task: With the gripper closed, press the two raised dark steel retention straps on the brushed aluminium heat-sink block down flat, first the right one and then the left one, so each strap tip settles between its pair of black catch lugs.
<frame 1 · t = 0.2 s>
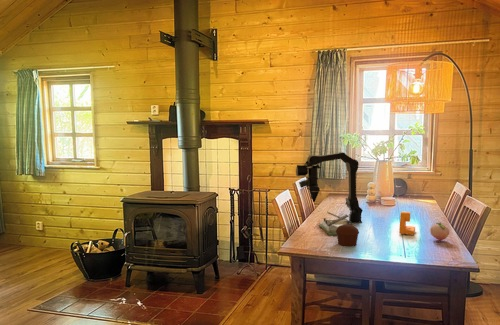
hand: (312, 200, 233), 14 cm above the table, tool pointing down, fingers open, 9 cm apart
muffin: (347, 244, 191), on the table
right strap: (337, 216, 222), point 7 cm above the table, hinge at 25.0°
bracket: (407, 233, 210), on the table
decorative fruit: (438, 241, 195), on the table
left strap: (337, 219, 213), point 7 cm above the table, hinge at 25.0°
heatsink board: (337, 229, 218), on the table
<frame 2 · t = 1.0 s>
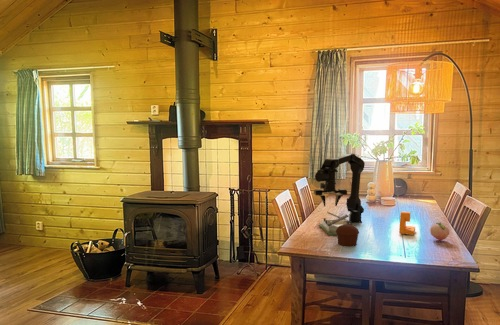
hand: (330, 206, 221), 13 cm above the table, tool pointing down, fingers open, 6 cm apart
nothing on the table moved.
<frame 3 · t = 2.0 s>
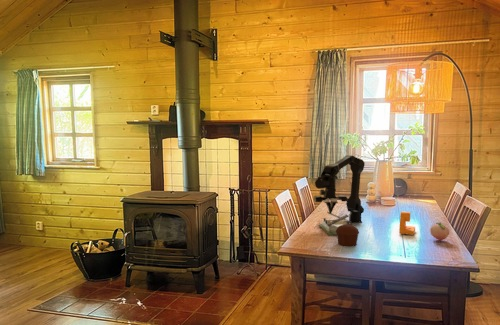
hand: (330, 213, 222), 9 cm above the table, tool pointing down, fingers closed, pressing on right strap
right strap: (337, 216, 222), point 7 cm above the table, hinge at 25.0°, touching gripper
everything else where it was.
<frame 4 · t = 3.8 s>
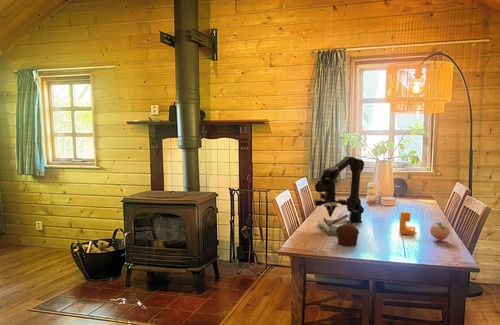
hand: (330, 216, 222), 7 cm above the table, tool pointing down, fingers closed
right strap: (336, 220, 222), point 5 cm above the table, hinge at -0.3°, touching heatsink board
everything else where it was.
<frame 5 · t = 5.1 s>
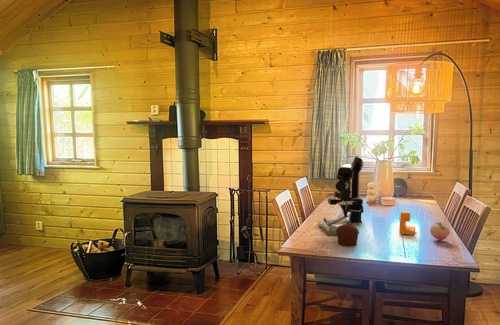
hand: (345, 216, 213), 9 cm above the table, tool pointing down, fingers closed, pressing on left strap
left strap: (337, 219, 213), point 7 cm above the table, hinge at 25.0°, touching gripper
everything else where it was.
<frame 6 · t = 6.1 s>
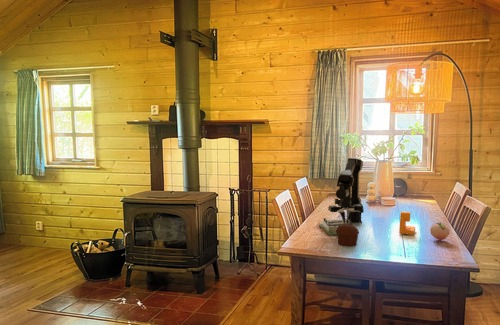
hand: (345, 223, 213), 5 cm above the table, tool pointing down, fingers closed, pressing on left strap
left strap: (338, 223, 213), point 5 cm above the table, hinge at 3.8°, touching gripper
everything else where it was.
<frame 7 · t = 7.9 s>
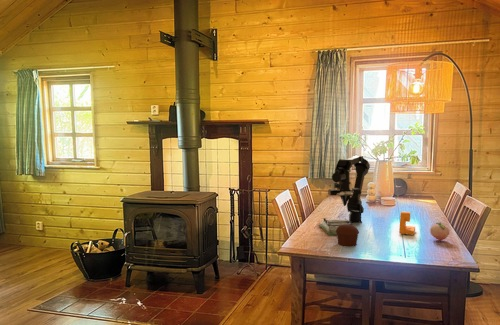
hand: (344, 205, 224), 13 cm above the table, tool pointing down, fingers closed
left strap: (338, 224, 213), point 5 cm above the table, hinge at -0.3°, touching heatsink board
everything else where it was.
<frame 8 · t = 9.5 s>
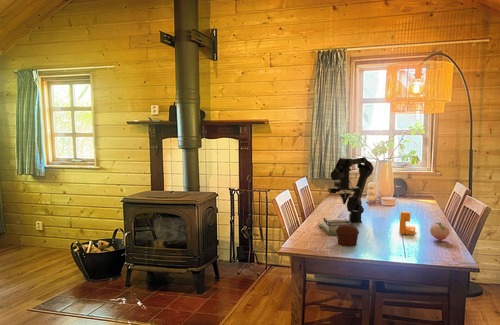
hand: (344, 204, 227), 13 cm above the table, tool pointing down, fingers closed
nothing on the table moved.
at the end: right strap at +0° (first picture: +25°); left strap at +0° (first picture: +25°) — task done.
